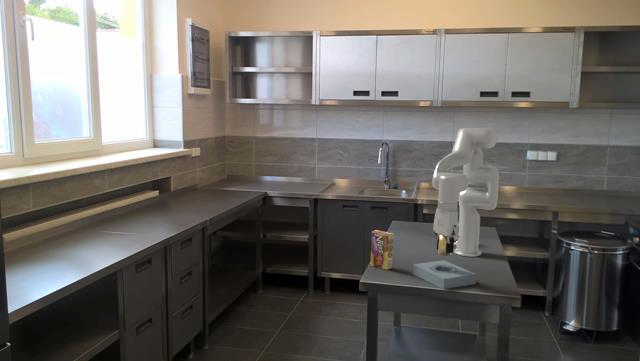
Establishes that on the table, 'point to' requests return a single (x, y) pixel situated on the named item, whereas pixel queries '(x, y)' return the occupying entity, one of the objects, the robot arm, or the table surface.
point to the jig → (444, 274)
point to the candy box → (382, 249)
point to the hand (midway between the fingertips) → (444, 250)
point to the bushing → (443, 245)
